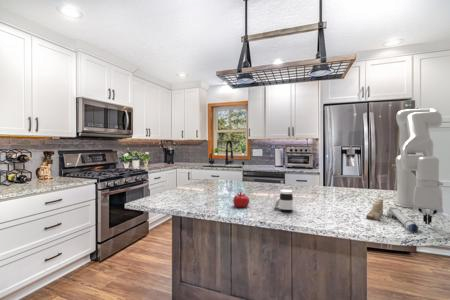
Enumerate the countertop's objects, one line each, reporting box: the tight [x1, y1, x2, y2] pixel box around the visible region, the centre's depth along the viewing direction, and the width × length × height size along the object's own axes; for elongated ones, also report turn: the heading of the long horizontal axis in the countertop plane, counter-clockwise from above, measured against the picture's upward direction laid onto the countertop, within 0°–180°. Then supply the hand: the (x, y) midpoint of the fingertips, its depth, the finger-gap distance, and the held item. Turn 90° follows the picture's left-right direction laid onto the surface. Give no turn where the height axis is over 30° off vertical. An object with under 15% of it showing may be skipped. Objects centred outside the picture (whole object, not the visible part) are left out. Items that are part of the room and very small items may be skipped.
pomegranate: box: [232, 191, 250, 208], centre depth 150 cm, size 10×10×9 cm
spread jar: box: [273, 189, 294, 213], centre depth 141 cm, size 12×11×12 cm
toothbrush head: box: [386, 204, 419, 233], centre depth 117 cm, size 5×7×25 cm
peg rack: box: [365, 198, 384, 221], centre depth 128 cm, size 16×6×8 cm, turn 140°
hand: (427, 223), depth 110 cm, fingers closed
